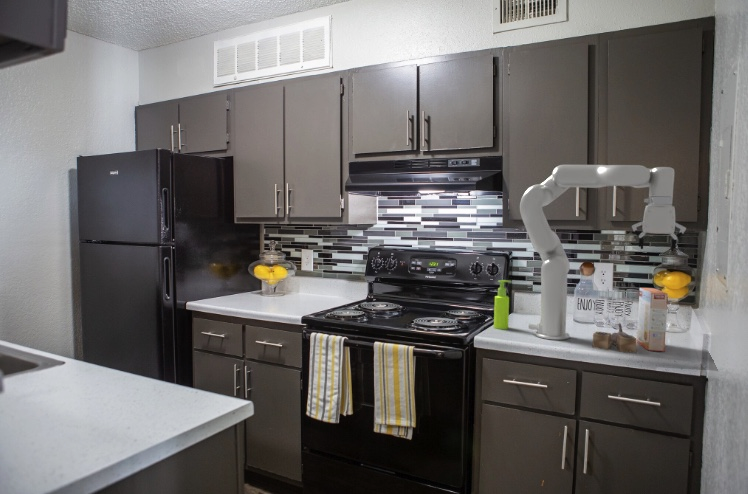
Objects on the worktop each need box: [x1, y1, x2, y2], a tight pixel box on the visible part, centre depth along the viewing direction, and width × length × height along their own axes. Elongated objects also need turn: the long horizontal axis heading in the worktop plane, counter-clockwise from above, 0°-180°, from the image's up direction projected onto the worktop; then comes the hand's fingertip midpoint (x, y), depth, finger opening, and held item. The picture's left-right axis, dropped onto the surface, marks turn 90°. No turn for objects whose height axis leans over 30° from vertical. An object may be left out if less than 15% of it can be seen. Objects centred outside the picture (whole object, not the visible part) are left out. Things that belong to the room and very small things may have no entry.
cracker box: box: [636, 287, 669, 352], centre depth 194 cm, size 14×6×21 cm, turn 168°
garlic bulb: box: [611, 322, 629, 346], centre depth 198 cm, size 8×7×8 cm
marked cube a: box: [616, 334, 637, 354], centre depth 189 cm, size 5×5×5 cm
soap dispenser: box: [493, 279, 513, 330], centre depth 224 cm, size 6×7×20 cm
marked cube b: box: [592, 331, 612, 350], centre depth 193 cm, size 5×5×5 cm
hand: (656, 249), depth 192 cm, fingers open, 9 cm apart
